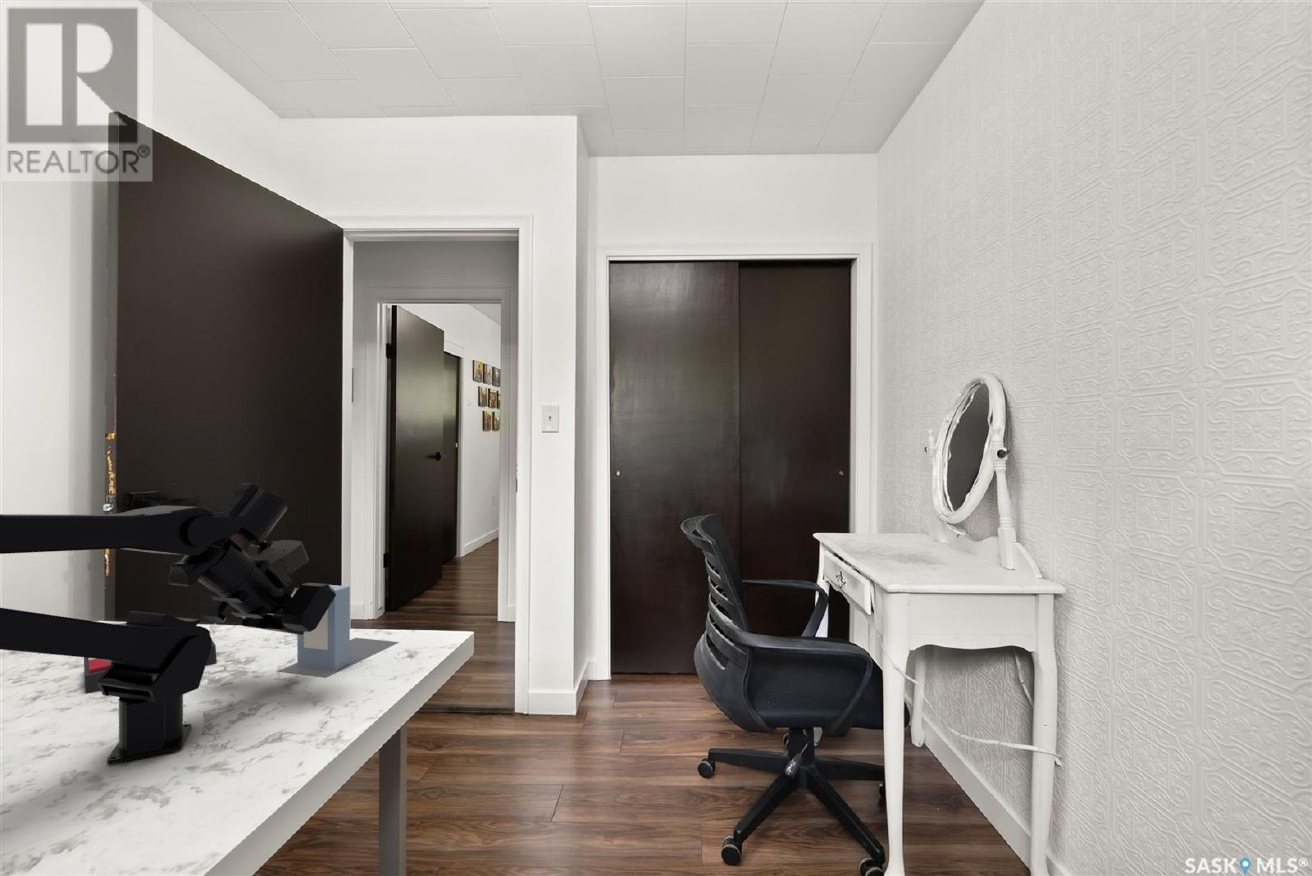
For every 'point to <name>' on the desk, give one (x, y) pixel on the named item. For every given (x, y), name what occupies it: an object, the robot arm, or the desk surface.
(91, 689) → the calculator
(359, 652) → the mat
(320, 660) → the card box
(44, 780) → the desk surface
